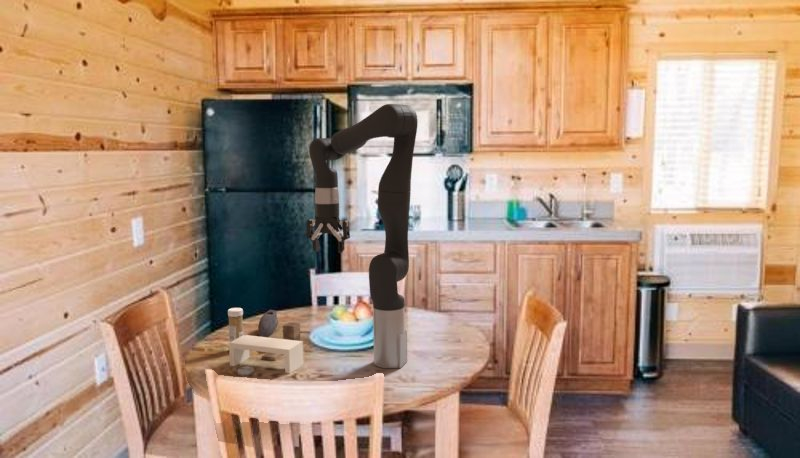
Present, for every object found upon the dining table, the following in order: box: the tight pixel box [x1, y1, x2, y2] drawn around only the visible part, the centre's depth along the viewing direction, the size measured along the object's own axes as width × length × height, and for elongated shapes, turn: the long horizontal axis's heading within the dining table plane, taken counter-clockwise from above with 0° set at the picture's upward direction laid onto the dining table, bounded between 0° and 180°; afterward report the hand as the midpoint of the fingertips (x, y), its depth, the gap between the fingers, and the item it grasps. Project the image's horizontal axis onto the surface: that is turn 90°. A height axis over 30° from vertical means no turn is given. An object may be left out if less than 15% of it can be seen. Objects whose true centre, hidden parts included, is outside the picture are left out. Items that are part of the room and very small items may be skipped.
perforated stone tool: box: [257, 309, 279, 337], centre depth 215 cm, size 15×5×7 cm, turn 175°
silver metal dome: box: [237, 365, 255, 377], centre depth 179 cm, size 4×4×2 cm
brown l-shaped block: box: [261, 321, 301, 362], centre depth 197 cm, size 4×16×7 cm, turn 160°
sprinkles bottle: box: [227, 307, 245, 343], centre depth 198 cm, size 5×5×13 cm
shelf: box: [228, 334, 305, 374], centre depth 185 cm, size 20×8×7 cm, turn 70°
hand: (328, 252), depth 201 cm, fingers open, 8 cm apart
